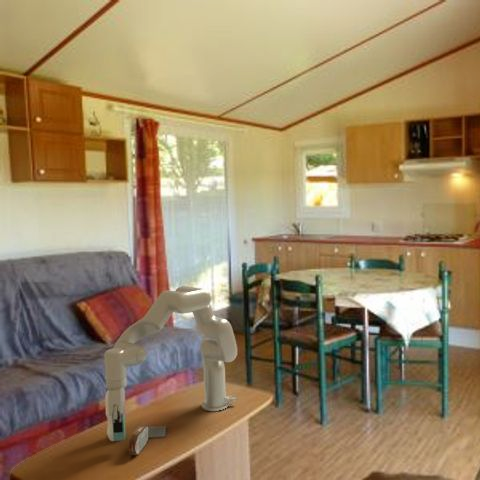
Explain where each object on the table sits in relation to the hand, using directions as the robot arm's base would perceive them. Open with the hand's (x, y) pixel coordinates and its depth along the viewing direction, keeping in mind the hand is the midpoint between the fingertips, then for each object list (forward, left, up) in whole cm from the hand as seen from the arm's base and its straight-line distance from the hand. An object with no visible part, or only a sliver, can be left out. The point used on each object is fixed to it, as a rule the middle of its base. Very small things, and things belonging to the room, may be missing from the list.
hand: (119, 428), depth 198 cm
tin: (-7, -1, -9) cm, 12 cm away
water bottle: (+3, -11, -9) cm, 15 cm away
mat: (-10, -14, -9) cm, 19 cm away
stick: (0, 0, -4) cm, 4 cm away
